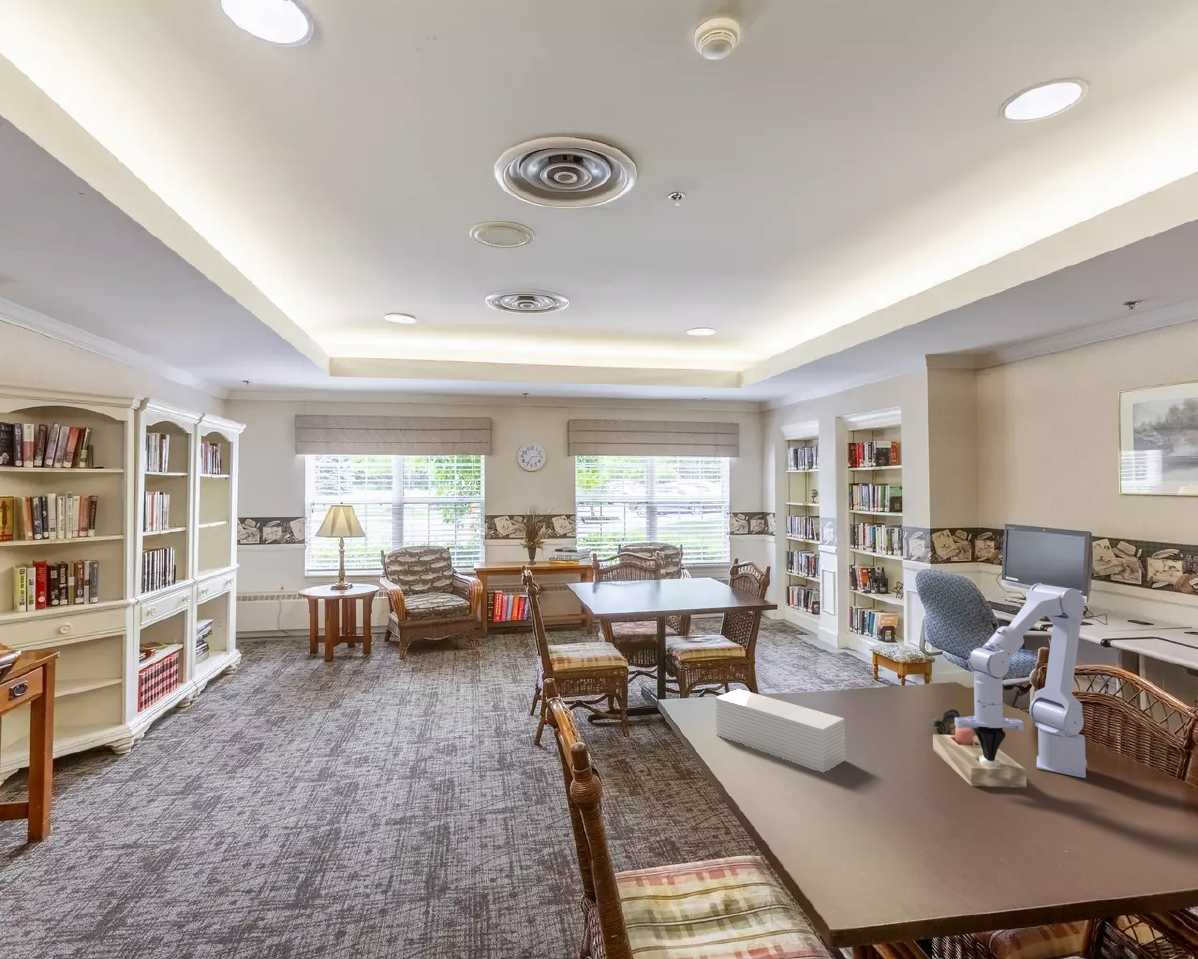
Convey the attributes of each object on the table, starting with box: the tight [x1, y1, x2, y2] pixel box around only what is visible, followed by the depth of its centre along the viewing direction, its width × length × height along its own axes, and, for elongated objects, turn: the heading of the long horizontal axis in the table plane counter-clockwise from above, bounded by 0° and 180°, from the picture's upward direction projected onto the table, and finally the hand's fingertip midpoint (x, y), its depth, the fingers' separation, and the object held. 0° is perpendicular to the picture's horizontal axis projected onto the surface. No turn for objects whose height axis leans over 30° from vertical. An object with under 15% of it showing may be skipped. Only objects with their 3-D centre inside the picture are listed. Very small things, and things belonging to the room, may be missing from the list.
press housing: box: [932, 734, 1027, 789], centre depth 155 cm, size 12×20×4 cm, turn 175°
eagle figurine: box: [929, 708, 960, 735], centre depth 176 cm, size 8×7×9 cm
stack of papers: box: [715, 688, 846, 774], centre depth 168 cm, size 32×11×11 cm, turn 42°
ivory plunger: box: [979, 755, 999, 766], centre depth 149 cm, size 4×4×4 cm
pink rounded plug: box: [954, 727, 974, 745], centre depth 161 cm, size 4×4×4 cm
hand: (989, 759), depth 149 cm, fingers closed, pressing on ivory plunger
